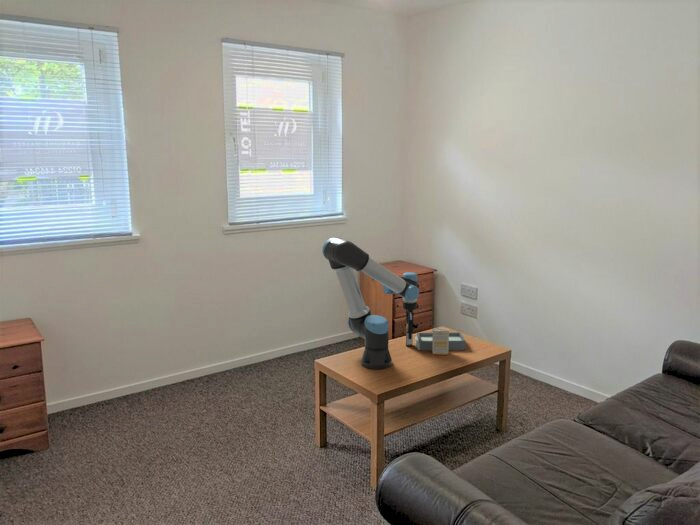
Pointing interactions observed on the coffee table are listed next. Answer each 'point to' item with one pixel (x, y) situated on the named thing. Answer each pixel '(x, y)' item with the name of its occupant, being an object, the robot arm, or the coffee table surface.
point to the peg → (406, 336)
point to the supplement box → (440, 341)
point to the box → (455, 341)
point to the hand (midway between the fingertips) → (409, 343)
